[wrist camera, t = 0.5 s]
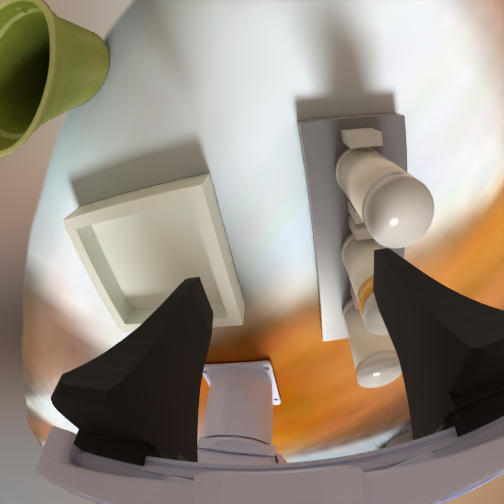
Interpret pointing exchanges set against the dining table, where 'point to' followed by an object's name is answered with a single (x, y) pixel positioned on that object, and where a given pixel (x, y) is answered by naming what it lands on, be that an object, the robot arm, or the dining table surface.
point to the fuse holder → (341, 200)
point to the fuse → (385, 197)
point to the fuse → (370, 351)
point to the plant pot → (43, 68)
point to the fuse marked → (363, 279)
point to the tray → (157, 250)
